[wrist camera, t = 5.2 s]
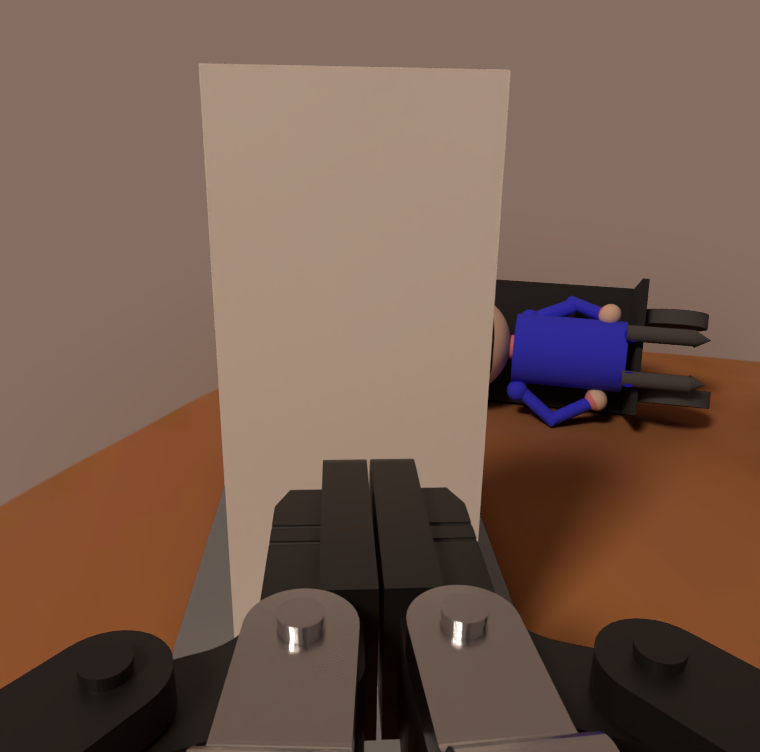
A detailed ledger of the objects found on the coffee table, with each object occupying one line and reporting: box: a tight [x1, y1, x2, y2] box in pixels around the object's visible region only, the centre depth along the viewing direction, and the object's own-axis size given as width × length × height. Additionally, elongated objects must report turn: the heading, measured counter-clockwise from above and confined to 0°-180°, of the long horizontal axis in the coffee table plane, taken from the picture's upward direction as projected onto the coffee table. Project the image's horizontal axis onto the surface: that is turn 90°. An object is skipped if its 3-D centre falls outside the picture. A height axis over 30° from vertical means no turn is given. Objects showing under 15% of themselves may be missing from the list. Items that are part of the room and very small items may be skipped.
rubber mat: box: [172, 486, 514, 752], centre depth 26 cm, size 10×22×1 cm, turn 3°
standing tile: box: [199, 63, 510, 690], centre depth 17 cm, size 6×2×15 cm, turn 93°
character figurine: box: [488, 279, 711, 427], centre depth 38 cm, size 8×7×15 cm
